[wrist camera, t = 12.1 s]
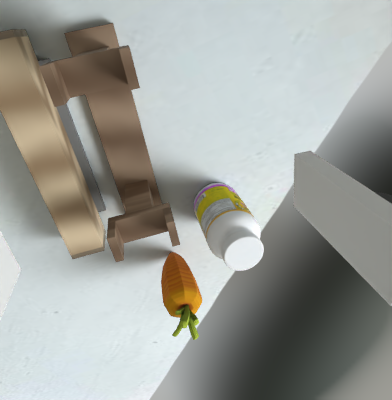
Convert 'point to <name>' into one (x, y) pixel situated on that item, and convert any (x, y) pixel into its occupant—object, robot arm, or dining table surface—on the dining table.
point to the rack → (113, 128)
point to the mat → (79, 152)
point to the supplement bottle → (228, 226)
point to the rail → (46, 146)
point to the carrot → (180, 293)
